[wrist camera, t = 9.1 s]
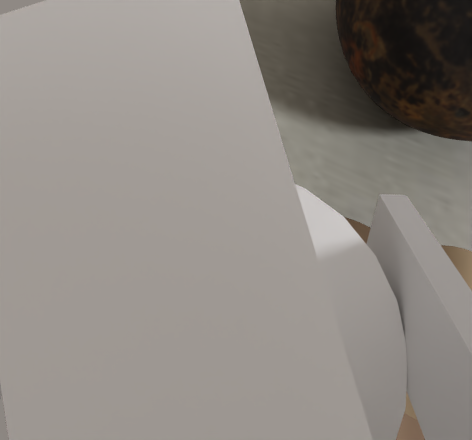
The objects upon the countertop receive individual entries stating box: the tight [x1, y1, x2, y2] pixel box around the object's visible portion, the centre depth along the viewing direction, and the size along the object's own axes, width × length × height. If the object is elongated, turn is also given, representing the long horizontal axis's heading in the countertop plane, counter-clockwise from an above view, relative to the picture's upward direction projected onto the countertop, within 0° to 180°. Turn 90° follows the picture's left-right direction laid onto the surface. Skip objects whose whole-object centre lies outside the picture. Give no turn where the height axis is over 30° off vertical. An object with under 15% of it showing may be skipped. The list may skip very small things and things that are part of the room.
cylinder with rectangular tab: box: [0, 0, 407, 440], centre depth 10 cm, size 9×9×12 cm
